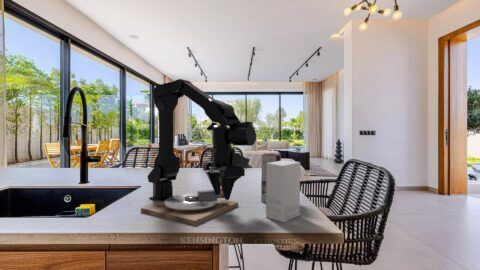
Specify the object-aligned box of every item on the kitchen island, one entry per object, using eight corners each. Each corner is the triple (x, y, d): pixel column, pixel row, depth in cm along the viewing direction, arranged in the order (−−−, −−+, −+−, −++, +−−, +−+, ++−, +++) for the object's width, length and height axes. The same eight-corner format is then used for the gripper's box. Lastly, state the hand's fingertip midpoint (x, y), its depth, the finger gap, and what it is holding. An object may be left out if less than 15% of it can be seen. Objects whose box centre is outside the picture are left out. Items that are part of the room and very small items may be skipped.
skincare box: (282, 211, 82) (283, 159, 81) (301, 216, 77) (302, 161, 77) (264, 217, 76) (265, 162, 75) (283, 223, 71) (284, 164, 71)
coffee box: (279, 203, 91) (280, 155, 90) (260, 202, 92) (261, 154, 92) (281, 196, 100) (281, 153, 99) (263, 195, 101) (264, 152, 100)
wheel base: (140, 212, 80) (140, 208, 80) (188, 197, 98) (188, 193, 98) (195, 225, 69) (195, 220, 69) (238, 205, 87) (238, 202, 87)
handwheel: (167, 214, 73) (167, 198, 73) (162, 199, 88) (162, 186, 88) (234, 207, 80) (234, 193, 80) (219, 194, 95) (219, 183, 95)
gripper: (261, 145, 77) (261, 200, 76) (233, 144, 93) (233, 189, 93) (225, 146, 72) (225, 205, 71) (202, 144, 88) (202, 192, 88)
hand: (222, 197), depth 81 cm, fingers open, 7 cm apart
